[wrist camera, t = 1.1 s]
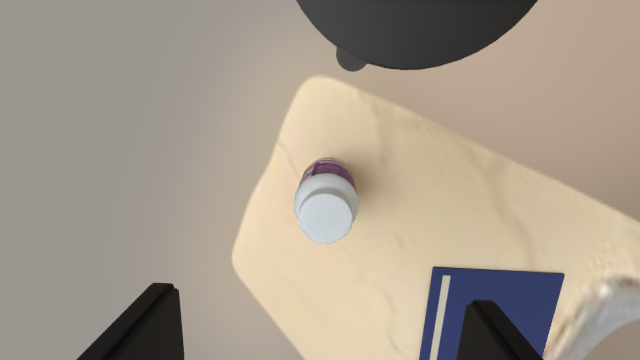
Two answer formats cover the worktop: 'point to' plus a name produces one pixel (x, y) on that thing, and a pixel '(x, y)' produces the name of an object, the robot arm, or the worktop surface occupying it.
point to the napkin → (499, 286)
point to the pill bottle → (326, 201)
